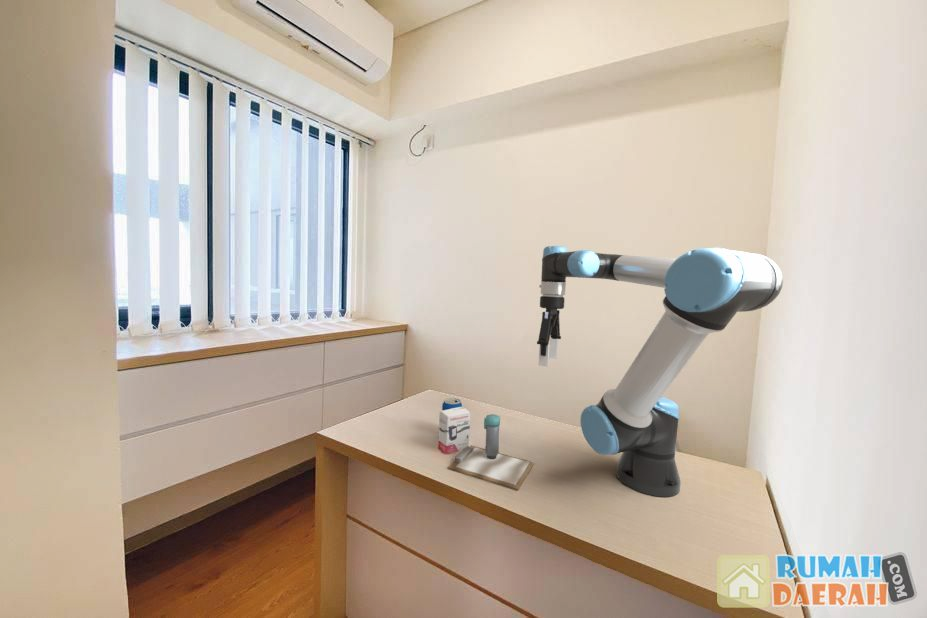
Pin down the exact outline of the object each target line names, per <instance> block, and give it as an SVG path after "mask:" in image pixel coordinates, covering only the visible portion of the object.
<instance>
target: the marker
mask: <svg viewBox="0 0 927 618" xmlns="http://www.w3.org/2000/svg"><path fill="white" fill-rule="evenodd" d="M500 424H501V417H500V415H498V414H493V413H491V414H490V413H489V414H487V415H486V416H485V417H484V419H483V430H485V448H484V449H485V453H486V454H487V458H489V459H496V456H497V455H498V453H499V448H500V447H499V445H500V444H499V443H500Z"/></svg>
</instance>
